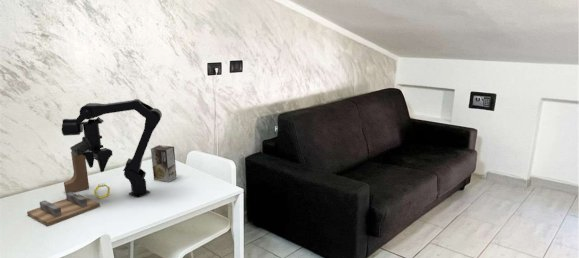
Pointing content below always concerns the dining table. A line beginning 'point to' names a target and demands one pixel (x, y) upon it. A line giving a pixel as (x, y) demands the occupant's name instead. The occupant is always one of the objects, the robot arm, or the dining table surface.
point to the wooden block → (77, 175)
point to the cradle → (62, 209)
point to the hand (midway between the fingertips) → (96, 169)
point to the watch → (102, 186)
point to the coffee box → (163, 163)
